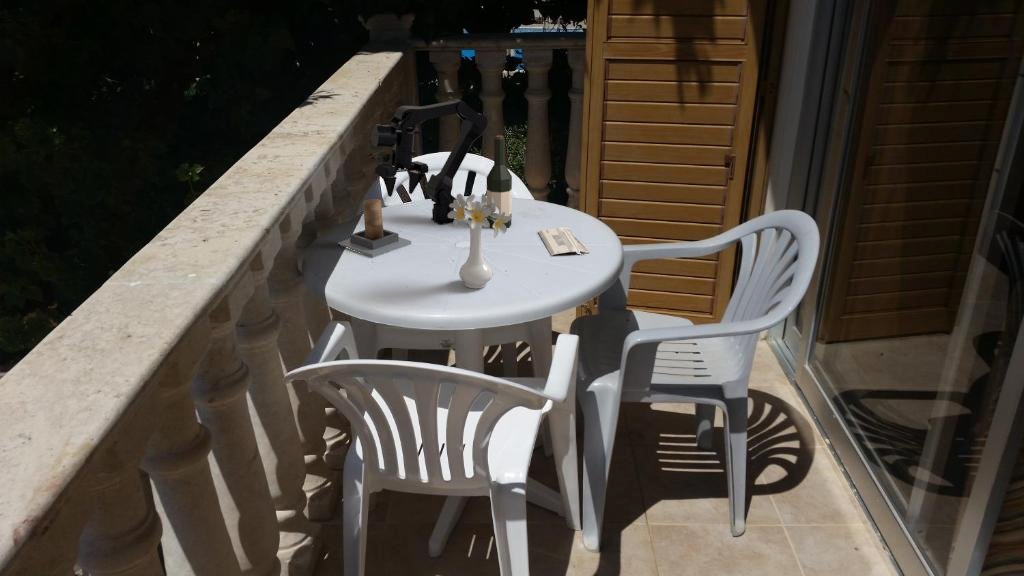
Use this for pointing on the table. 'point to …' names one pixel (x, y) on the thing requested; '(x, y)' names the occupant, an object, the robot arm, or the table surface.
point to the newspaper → (561, 241)
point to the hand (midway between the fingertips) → (400, 195)
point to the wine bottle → (500, 182)
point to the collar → (375, 243)
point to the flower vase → (477, 236)
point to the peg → (373, 219)
